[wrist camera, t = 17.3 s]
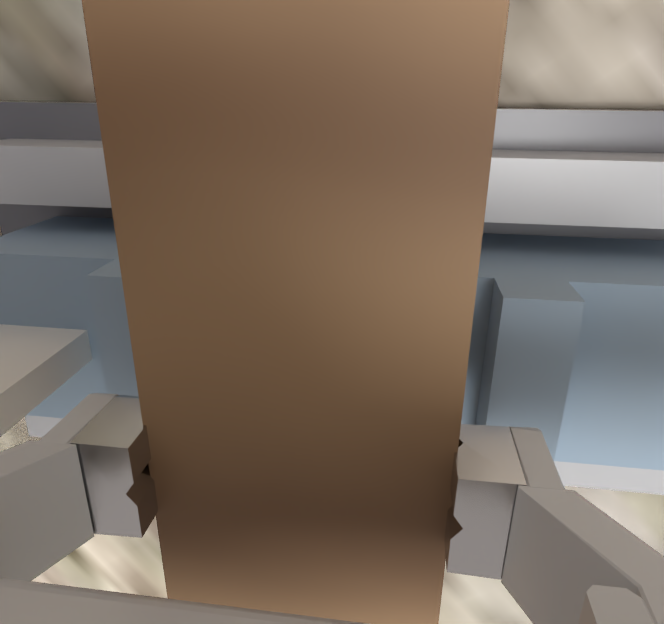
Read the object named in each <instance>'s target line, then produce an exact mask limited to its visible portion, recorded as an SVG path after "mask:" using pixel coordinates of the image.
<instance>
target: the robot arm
mask: <svg viewBox="0 0 664 624" xmlns="http://www.w3.org/2000/svg"><path fill="white" fill-rule="evenodd" d="M150 460H151V454H150V447H149V440H148V433H147V426H146V425H143V423H142V416H141V409H140V402H139V397H138V396H128V395H118V394H107V393H92V394H89V395H87V396H86V397H85V398H84V399H83V400H82V401H81V402H80V403H79V404H78V405H77V406H76V407H75V408H73V409H72V410H71V411H70V412H69V413H68V414H67V415H66V416H65V417H64V418H63V419H62V420H61V421H60V422H58V423H57V424H56V425H55V426H54V427H53V428H52V429H51V430H50V431H49V432H48V433H47V434H46V435H44V436H43V437H42V438H41V439H40V440H39V441H34V440H30V441H27V442H24V443H22V444H19V445H17V446H14V447H12V448H9V449H7V450H4V451H1V452H0V624H368V623H360V622H352V621H344V620H336V619H328V618H320V617H313V616H305V615H297V614H289V613H281V612H272V611H264V610H256V609H248V608H240V607H232V606H224V605H216V604H208V603H200V602H192V601H184V600H176V599H167V598H159V597H151V596H143V595H135V594H127V593H119V592H111V591H103V590H95V589H87V588H79V587H71V586H64V585H56V584H48V583H40V582H32V580H33V579H34V578H36V577H37V576H39V575H40V574H41V573H43V572H44V571H46V570H47V569H49V568H50V567H51V566H53V565H54V564H56V563H57V562H58V561H60V560H61V559H63V558H64V557H66V556H67V555H68V554H70V553H71V552H73V551H74V550H75V549H77V548H78V547H80V546H81V545H83V544H84V543H85V542H87V541H88V540H90V539H91V538H92V537H94V534H104V535H116V536H128V537H141V538H142V537H143V535H144V534H145V532H146V530H147V529H148V527H149V525H150V524H151V522H152V520H153V519H154V517H155V515H156V514H157V512H158V506H157V498H156V490H155V482H154V480H153V479H152V478H151V476H150V471H149V464H148V462H149V461H150ZM450 490H451V498H452V506H451V507H450V508H449V509H448V511H447V520H446V530H445V539H444V544H445V555H446V566H447V572H451V573H458V574H465V575H472V576H479V577H486V578H493V579H501V580H502V581H501V582H502V584H503V585H504V586H505V588H506V589H507V590H508V591H509V593H510V594H511V595H512V597H513V598H514V599H515V601H516V602H517V603H518V604H519V606H520V607H521V608H522V610H523V611H524V612H525V614H526V615H527V616H528V617H529V619H530V620H531V621H532V623H533V624H664V556H662V555H661V554H660V553H658V552H657V551H656V550H654V549H653V548H652V547H650V546H649V545H648V544H646V543H645V542H643V541H642V540H641V539H639V538H638V537H637V536H635V535H634V534H633V533H631V532H630V531H629V530H627V529H626V528H624V527H623V526H622V525H620V524H619V523H618V522H616V521H615V520H614V519H612V518H611V517H609V516H608V515H607V514H605V513H604V512H603V511H601V510H600V509H599V508H597V507H596V506H595V505H593V504H592V503H590V502H589V501H588V500H586V499H585V498H584V497H582V496H581V495H580V494H578V493H577V492H576V491H573V490H565V488H564V486H563V483H562V481H561V478H560V476H559V473H558V471H557V468H556V466H555V463H554V461H553V458H552V456H551V454H550V451H549V449H548V446H547V444H546V441H545V439H544V436H543V434H542V431H541V430H540V429H538V428H532V427H510V426H508V427H506V426H488V425H470V424H461V429H460V437H459V446H458V453H456V452H454V460H453V469H452V477H451V485H450Z"/></svg>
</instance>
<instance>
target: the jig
mask: <svg viewBox="0 0 664 624" xmlns="http://www.w3.org/2000/svg"><path fill="white" fill-rule="evenodd" d="M56 216H66V217H91V218H113V214H112V207H111V200H110V193H109V187H108V180H107V173H106V166H105V159H104V152H103V145H102V138H101V131H100V124H99V117H98V110H97V103H96V102H38V101H0V227H1V232H2V235H5V234H8V233H10V232H13V231H16V230H19V229H22V228H25V227H27V226H30V225H33V224H36V223H39V222H42V221H44V220H47V219H50V218H53V217H56ZM483 233H492V234H517V235H542V236H567V237H592V238H617V239H642V240H664V110H610V109H539V108H497V114H496V122H495V131H494V140H493V149H492V157H491V166H490V175H489V184H488V192H487V201H486V210H485V219H484V227H483ZM62 419H63V418H53V417H42V416H30V415H26V416H25V420H26V424H27V428H28V433H29V436H31V437H43V436H44V435H46V434H47V433H48V432H49V431H50V430H51V429H52V428H53V427H54V426H55V425H56V424H57V423H58V422H60V421H61V420H62ZM554 463H555V466H556V468H557V471H558V473H559V476H560V478H561V481H562V483H563V486H572V487H583V488H594V489H605V490H616V491H627V492H637V493H648V494H659V495H664V471H663V470H651V469H640V468H628V467H617V466H605V465H594V464H582V463H571V462H559V461H554Z"/></svg>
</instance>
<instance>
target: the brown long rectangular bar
mask: <svg viewBox="0 0 664 624" xmlns="http://www.w3.org/2000/svg"><path fill="white" fill-rule="evenodd" d="M82 6H83V13H84V20H85V27H86V34H87V41H88V48H89V55H90V61H91V68H92V75H93V82H94V89H95V96H96V103H97V110H98V117H99V124H100V131H101V138H102V145H103V152H104V159H105V166H106V173H107V180H108V187H109V193H110V200H111V207H112V214H113V221H114V228H115V235H116V242H117V249H118V256H119V263H120V270H121V277H122V284H123V291H124V298H125V305H126V312H127V318H128V325H129V332H130V339H131V346H132V353H133V360H134V367H135V374H136V381H137V388H138V395H139V402H140V409H141V416H142V423H143V425H146V426H147V433H148V440H149V447H150V454H151V460H150V461H149V462H148V464H149V471H150V476H151V478H152V479H153V480H154V482H155V490H156V498H157V506H158V512H157V514H156V520H157V527H158V534H159V541H160V548H161V555H162V562H163V569H164V575H165V582H166V589H167V596H168V599H176V600H184V601H192V602H200V603H208V604H216V605H224V606H232V607H240V608H248V609H256V610H264V611H272V612H281V613H289V614H297V615H305V616H313V617H320V618H328V619H336V620H344V621H352V622H360V623H368V624H438V621H439V612H440V604H441V595H442V586H443V577H444V569H445V560H446V555H445V544H444V539H445V530H446V520H447V511H448V509H449V508H450V507H451V506H452V498H451V490H450V485H451V477H452V469H453V460H454V452H456V453H458V446H459V437H460V429H461V420H462V411H463V402H464V394H465V385H466V376H467V367H468V359H469V350H470V341H471V332H472V324H473V315H474V306H475V297H476V289H477V280H478V271H479V262H480V254H481V245H482V236H483V227H484V219H485V210H486V201H487V192H488V184H489V175H490V166H491V157H492V149H493V140H494V131H495V122H496V114H497V105H498V96H499V87H500V79H501V70H502V61H503V52H504V44H505V35H506V26H507V17H508V9H509V0H82Z"/></svg>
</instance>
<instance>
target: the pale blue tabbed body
mask: <svg viewBox="0 0 664 624" xmlns="http://www.w3.org/2000/svg"><path fill="white" fill-rule="evenodd" d="M92 393H107V394H118V395H128V396H138V397H139V395H138V388H137V381H136V374H135V367H134V360H133V353H132V346H131V339H130V332H129V325H128V318H127V312H126V305H125V298H124V291H123V284H122V277H121V270H120V263H119V256H118V249H117V242H116V235H115V228H114V221H113V218H91V217H66V216H56V217H53V218H50V219H47V220H44V221H42V222H39V223H36V224H33V225H30V226H27V227H25V228H22V229H19V230H16V231H13V232H10V233H8V234H5V235H2V236H0V437H1V436H2V435H3V434H4V433H5V432H7V431H8V430H9V429H10V428H11V427H13V426H14V425H15V424H16V423H17V422H19V421H20V420H21V419H22V418H23V417H24V416H26V415H30V416H42V417H53V418H64V417H65V416H66V415H67V414H68V413H69V412H70V411H71V410H72V409H73V408H75V407H76V406H77V405H78V404H79V403H80V402H81V401H82V400H83V399H84V398H85V397H86V396H87V395H89V394H92ZM461 424H470V425H488V426H506V427H508V426H510V427H532V428H538V429H540V430H541V431H542V434H543V436H544V439H545V441H546V444H547V446H548V449H549V451H550V454H551V456H552V458H553V461H559V462H571V463H582V464H594V465H605V466H617V467H628V468H640V469H651V470H663V471H664V240H642V239H617V238H592V237H567V236H542V235H517V234H492V233H483V236H482V245H481V254H480V262H479V271H478V280H477V289H476V297H475V306H474V315H473V324H472V332H471V341H470V350H469V359H468V367H467V376H466V385H465V394H464V402H463V411H462V420H461Z"/></svg>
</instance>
